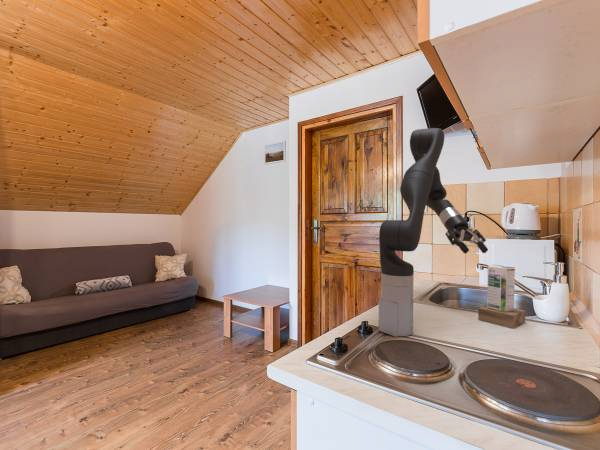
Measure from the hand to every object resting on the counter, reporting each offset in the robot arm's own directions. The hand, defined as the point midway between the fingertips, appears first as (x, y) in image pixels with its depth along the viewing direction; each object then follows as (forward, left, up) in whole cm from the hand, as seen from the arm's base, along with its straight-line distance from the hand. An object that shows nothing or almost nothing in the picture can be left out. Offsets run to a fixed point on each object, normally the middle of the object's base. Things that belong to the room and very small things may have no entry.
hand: (476, 251), depth 107 cm
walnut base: (-4, -10, -22) cm, 24 cm away
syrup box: (-4, -9, -18) cm, 21 cm away
